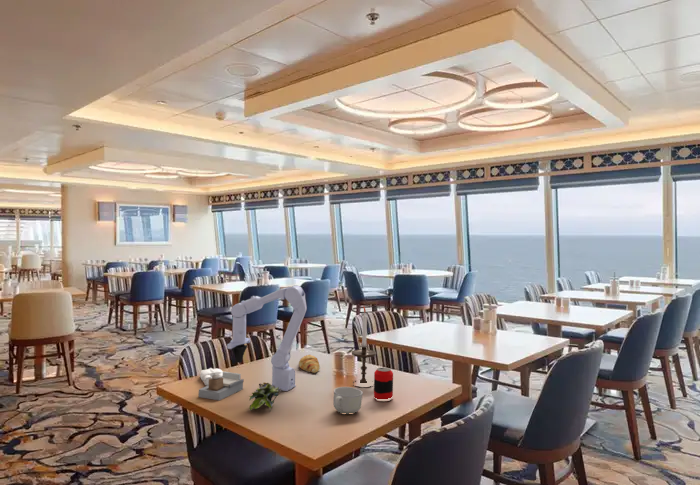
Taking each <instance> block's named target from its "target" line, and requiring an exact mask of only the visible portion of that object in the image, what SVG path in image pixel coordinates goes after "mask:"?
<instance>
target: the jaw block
mask: <svg viewBox="0 0 700 485" xmlns="http://www.w3.org/2000/svg"><path fill="white" fill-rule="evenodd" d="M220 389H223V378H220V375H214V376H212V378H211V379H209V390H212V391H218V390H220Z"/></svg>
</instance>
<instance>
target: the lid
mask: <svg viewBox="0 0 700 485" xmlns="http://www.w3.org/2000/svg"><path fill="white" fill-rule="evenodd" d="M241 375H242V373H238V372H230V371H223V377H222V378H223V386H228V387H229V385H230V384H232V383H234V382H237V381H239V380H241V379H242V378H241Z"/></svg>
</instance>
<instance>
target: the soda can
mask: <svg viewBox="0 0 700 485" xmlns="http://www.w3.org/2000/svg"><path fill="white" fill-rule="evenodd" d="M373 382H374V386H373V398H374V397H375V398H377V399H388V398H391V397H392V396H393V397H394V392H393V391H394V372H393V371H392V369H391V368H390V367H389V368H388V367H378V368H376V369H375V370H374V377H373Z"/></svg>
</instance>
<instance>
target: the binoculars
mask: <svg viewBox="0 0 700 485" xmlns="http://www.w3.org/2000/svg"><path fill="white" fill-rule="evenodd" d="M223 372H224V371H223V370H222V369H221V368H212V367H209V368H208V369H202V370H200V372H199V378H200V379H201V381H202V383H204V385H205V387H206V386H208V385H209V379H211V378H212V376H214V375H220V377H222V376H223Z"/></svg>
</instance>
